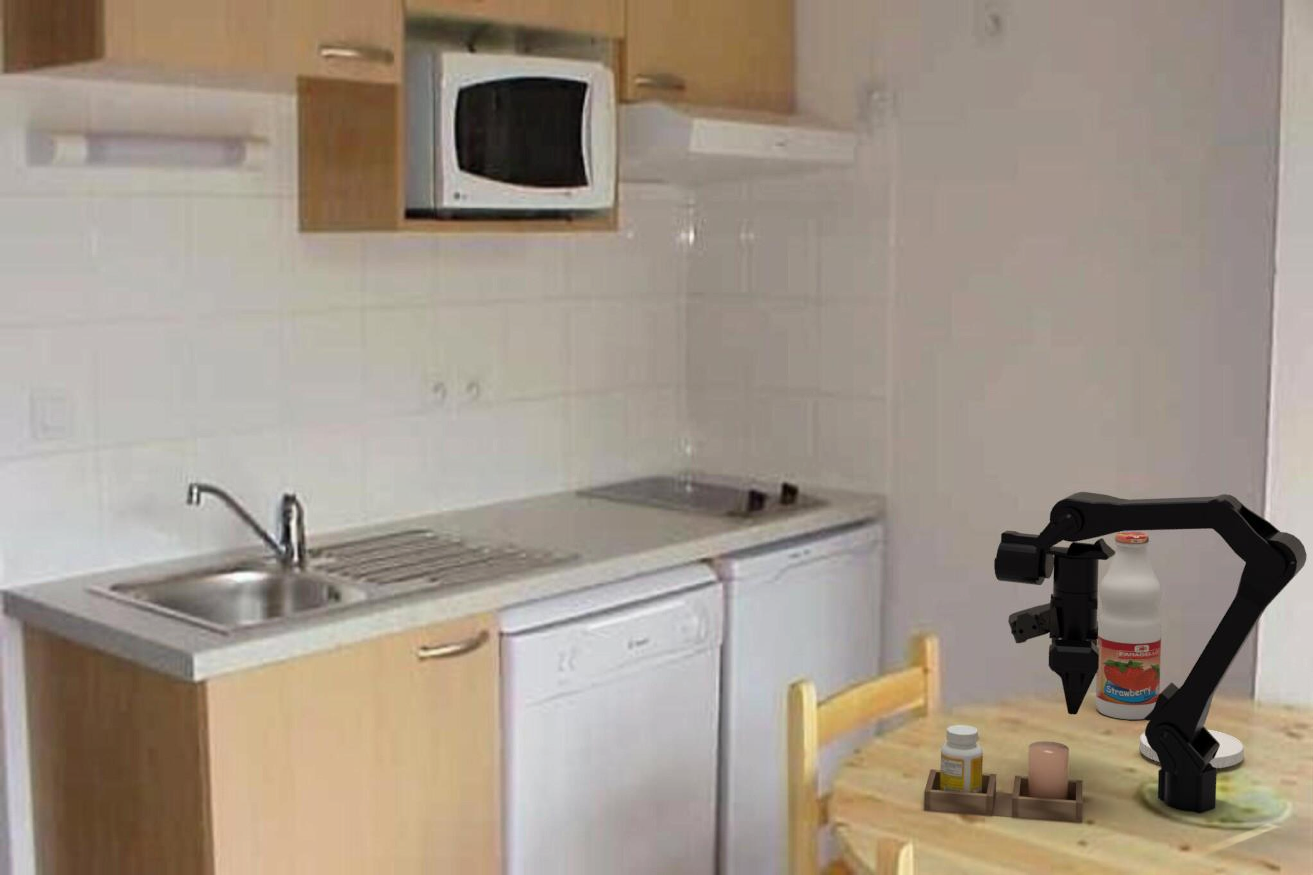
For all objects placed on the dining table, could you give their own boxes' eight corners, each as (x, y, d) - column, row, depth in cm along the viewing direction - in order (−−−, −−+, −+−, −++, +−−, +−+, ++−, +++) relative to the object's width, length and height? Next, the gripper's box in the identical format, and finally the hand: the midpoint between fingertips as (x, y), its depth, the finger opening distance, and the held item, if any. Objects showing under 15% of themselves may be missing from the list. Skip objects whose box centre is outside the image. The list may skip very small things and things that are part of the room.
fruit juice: (1147, 701, 257) (1152, 527, 253) (1167, 720, 248) (1173, 539, 244) (1087, 703, 257) (1092, 528, 253) (1106, 721, 247) (1111, 540, 243)
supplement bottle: (946, 808, 209) (947, 736, 208) (935, 794, 214) (936, 723, 213) (987, 807, 210) (988, 734, 208) (975, 792, 215) (976, 722, 214)
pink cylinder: (1075, 809, 208) (1077, 748, 207) (1049, 817, 206) (1050, 756, 205) (1045, 798, 213) (1046, 738, 211) (1019, 806, 210) (1020, 746, 209)
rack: (1082, 806, 212) (1082, 780, 212) (1081, 830, 204) (1082, 803, 204) (930, 794, 217) (930, 769, 217) (924, 817, 209) (924, 791, 208)
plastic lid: (1265, 765, 228) (1265, 748, 227) (1189, 782, 222) (1190, 764, 221) (1191, 737, 240) (1192, 721, 240) (1118, 752, 234) (1118, 735, 234)
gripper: (1015, 571, 225) (1013, 680, 227) (1009, 602, 207) (1007, 720, 210) (1099, 574, 222) (1096, 685, 225) (1100, 606, 205) (1097, 726, 207)
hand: (1072, 703), depth 216 cm, fingers open, 9 cm apart
